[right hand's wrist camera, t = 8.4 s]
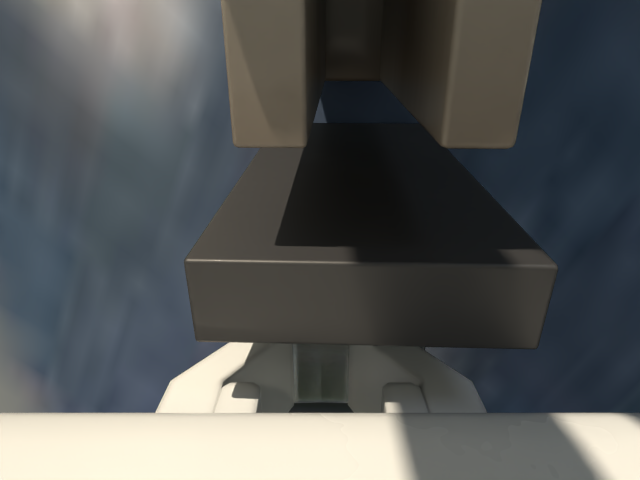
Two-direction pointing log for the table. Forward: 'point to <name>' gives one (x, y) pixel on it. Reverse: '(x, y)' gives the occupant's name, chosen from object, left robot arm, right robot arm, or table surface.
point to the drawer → (371, 182)
